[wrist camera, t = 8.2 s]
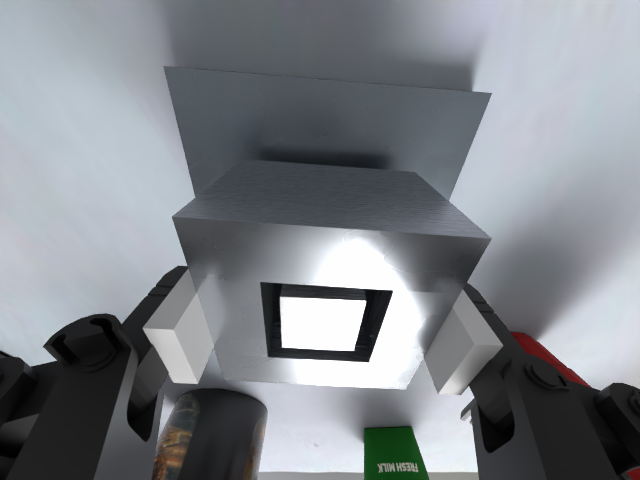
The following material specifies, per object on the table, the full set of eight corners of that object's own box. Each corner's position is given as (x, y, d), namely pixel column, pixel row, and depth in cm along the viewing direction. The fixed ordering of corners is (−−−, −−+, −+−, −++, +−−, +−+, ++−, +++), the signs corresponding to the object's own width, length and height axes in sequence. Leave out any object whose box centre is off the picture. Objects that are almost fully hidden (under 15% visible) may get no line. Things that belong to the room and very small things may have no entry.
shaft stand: (227, 286, 18) (167, 410, 11) (182, 69, 11) (-101, 19, 4) (399, 295, 19) (448, 419, 12) (472, 93, 11) (744, 91, 4)
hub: (257, 285, 14) (224, 380, 9) (242, 159, 10) (171, 216, 5) (379, 293, 14) (405, 389, 10) (414, 172, 10) (491, 238, 5)
